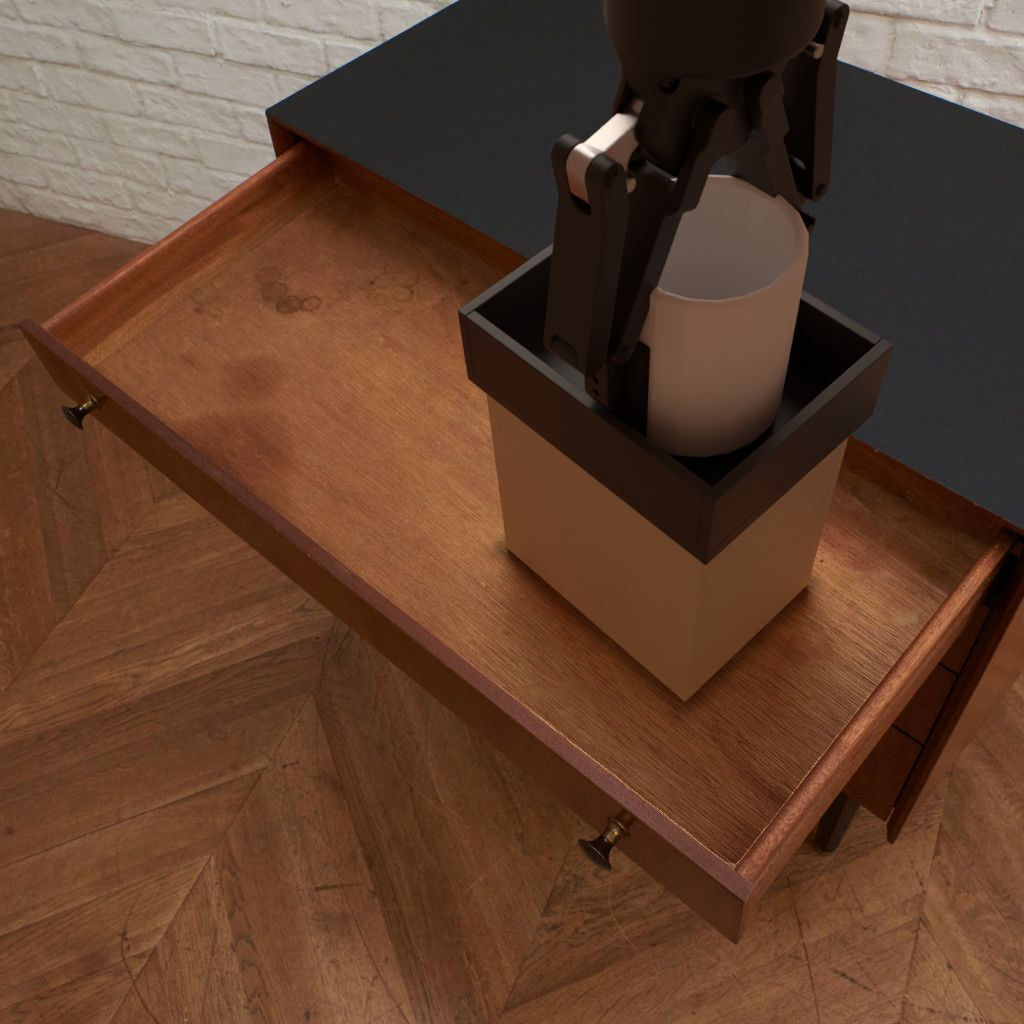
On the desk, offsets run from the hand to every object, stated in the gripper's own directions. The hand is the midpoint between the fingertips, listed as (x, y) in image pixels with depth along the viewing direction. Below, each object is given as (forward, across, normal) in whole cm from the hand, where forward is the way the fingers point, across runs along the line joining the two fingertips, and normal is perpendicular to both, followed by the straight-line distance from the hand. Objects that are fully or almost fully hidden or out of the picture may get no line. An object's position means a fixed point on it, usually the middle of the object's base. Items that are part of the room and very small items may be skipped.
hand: (683, 381), depth 55 cm
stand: (+18, 0, -1) cm, 18 cm away
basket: (+2, 0, -1) cm, 2 cm away
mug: (0, 0, -1) cm, 1 cm away
